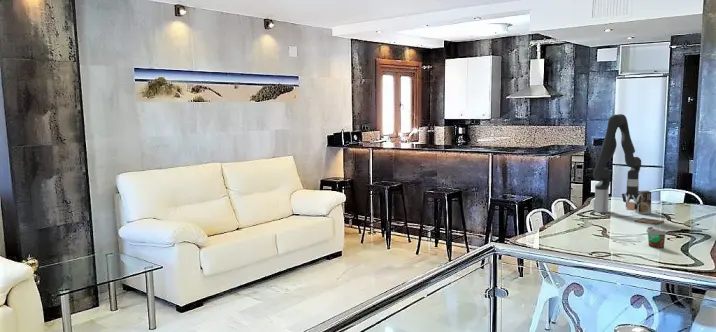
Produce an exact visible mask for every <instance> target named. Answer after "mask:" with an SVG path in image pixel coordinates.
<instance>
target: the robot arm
mask: <svg viewBox="0 0 716 332" xmlns="http://www.w3.org/2000/svg"><path fill="white" fill-rule="evenodd" d="M618 128H619V130H620V135H621V137H620V138H621V139H620V144H621V147H622V151H623V153H624V162H625V164H626V166H627V167H629V168H630V170H628V171H627V177H626V178H627V179H626V193H622V194H621V197H622V201H623V202H624V203H625V208H627V203H628V202H631V201H630V200H633V202H635V210H636V209H637V208H638V204H640V203H641V201H642V198H643V196H641V195H639V194H638V191H640V190H639V187H640V186H639V185H640V184H639V183H640V182H639V178H640V177H639V173H640V171H641V168H642V160H641V158H640V157H638V156H634V154H635V153H636V149H635V147H634V144H633V140H632V139H631V133H630V130H629V129H630V128H629V123H628V119H627V117H626V115H624V114H622V113H619V114H612V115H611V116H610V117H609V118H608V122H607V127H606V132H605V135H604V140H603V141H602V145H601V149H600V153H599V156H598V158H597V161H596V164H595V166H594V169H593V171H592V177H593V180H596V181H599V182H598V183H596V184H595V185H594V186H595V187H594V198H593V212H596V213H608V212H609V196H610V195H609V191H610V190H609V189H610V188H609V187H610V186H611V185H610V184H611V170H610V169H609V168H608V167H606V165H607V164H608V162H609V161H610V160H611V159H612V158H613V156H614V155H615V152H616V149H617V146H618V145H617V138H616V133H617V130H618ZM637 197H639V200H638V199H637ZM635 210H634V211H635Z"/></svg>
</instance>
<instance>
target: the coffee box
mask: <svg viewBox="0 0 716 332" xmlns="http://www.w3.org/2000/svg"><path fill="white" fill-rule="evenodd" d="M638 194H639V195H641V196H643V198H642V201H641V203H640V204H638V208H637V210H634V213H636V214H638V215H644V214H652V191H649V190H638ZM637 199H638V200H639V197H637Z"/></svg>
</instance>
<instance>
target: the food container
mask: <svg viewBox="0 0 716 332" xmlns="http://www.w3.org/2000/svg"><path fill="white" fill-rule="evenodd" d="M646 233H647V240H648V242H647V243H648V247H651V248H653V249H654V248H655V249H664V248H665V241H666V240H665V238H666V235H667V232H666V230H660V229H657V228H654V226H648V227H647V228H646Z"/></svg>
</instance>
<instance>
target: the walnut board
mask: <svg viewBox="0 0 716 332" xmlns="http://www.w3.org/2000/svg"><path fill="white" fill-rule="evenodd" d="M634 222H635V223H640V224H647V225H648V224H649V225H653V226H654V225H655V226H657V225H660V224H663V223H665V220H663V219H654V218H646V217H641V218H638V219H635V220H634Z"/></svg>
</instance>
